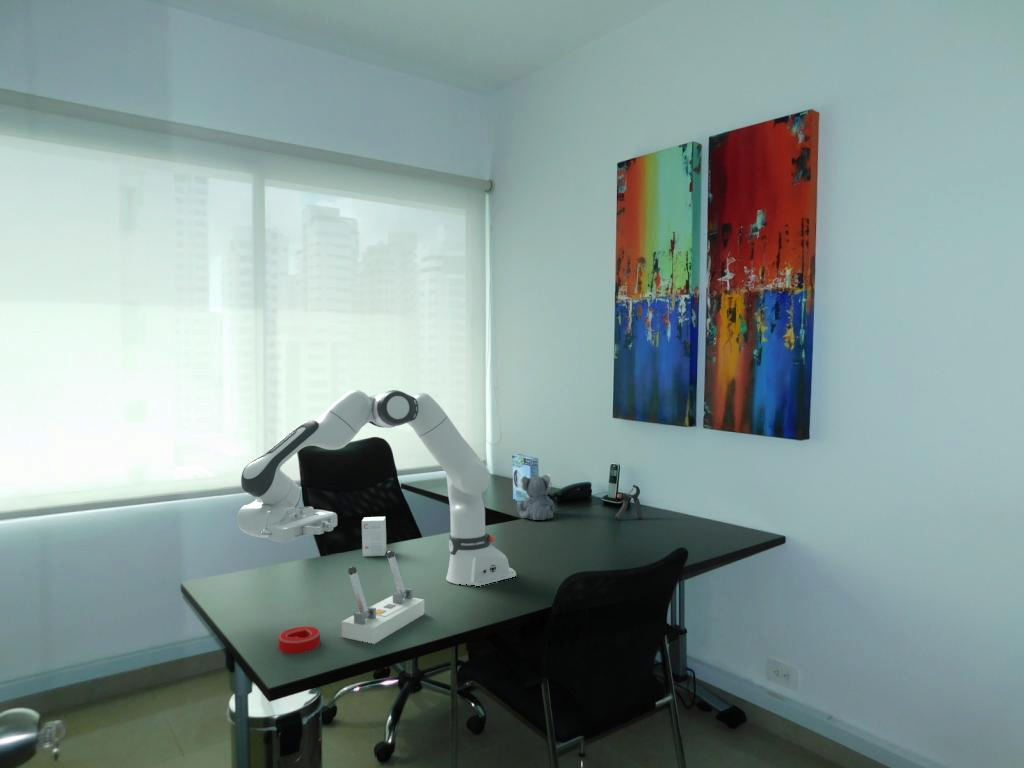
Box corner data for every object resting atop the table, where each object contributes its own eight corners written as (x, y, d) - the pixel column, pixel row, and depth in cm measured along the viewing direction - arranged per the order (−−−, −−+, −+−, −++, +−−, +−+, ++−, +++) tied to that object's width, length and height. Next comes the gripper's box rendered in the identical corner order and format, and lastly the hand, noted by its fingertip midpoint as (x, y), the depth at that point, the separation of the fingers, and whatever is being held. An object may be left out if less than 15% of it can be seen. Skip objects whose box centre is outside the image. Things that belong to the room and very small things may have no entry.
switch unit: (394, 608, 189) (394, 585, 189) (424, 614, 184) (424, 590, 184) (342, 637, 169) (341, 611, 169) (373, 644, 165) (373, 617, 164)
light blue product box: (539, 505, 326) (539, 458, 326) (530, 506, 324) (529, 459, 324) (521, 498, 344) (520, 453, 343) (512, 499, 342) (511, 454, 341)
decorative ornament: (320, 636, 170) (320, 624, 170) (319, 652, 161) (319, 639, 161) (281, 640, 168) (280, 628, 168) (277, 656, 159) (276, 643, 159)
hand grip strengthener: (614, 519, 294) (613, 485, 294) (641, 518, 297) (641, 484, 296) (615, 520, 292) (615, 486, 292) (643, 519, 294) (642, 485, 294)
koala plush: (553, 512, 309) (553, 470, 309) (559, 521, 292) (558, 477, 291) (516, 513, 308) (515, 471, 308) (519, 522, 290) (518, 477, 290)
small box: (386, 551, 248) (386, 516, 247) (385, 556, 241) (384, 520, 241) (364, 552, 247) (363, 516, 246) (362, 557, 240) (361, 520, 240)
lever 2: (403, 597, 185) (389, 550, 187) (410, 595, 184) (395, 548, 186) (397, 601, 183) (383, 553, 184) (403, 599, 182) (389, 551, 183)
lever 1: (366, 617, 171) (351, 566, 173) (373, 615, 170) (358, 564, 172) (359, 621, 168) (344, 569, 170) (365, 619, 167) (350, 567, 169)
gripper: (256, 520, 171) (297, 525, 165) (313, 505, 189) (352, 509, 183) (256, 545, 171) (297, 551, 165) (313, 527, 189) (352, 532, 183)
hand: (326, 529), depth 174 cm, fingers open, 2 cm apart
